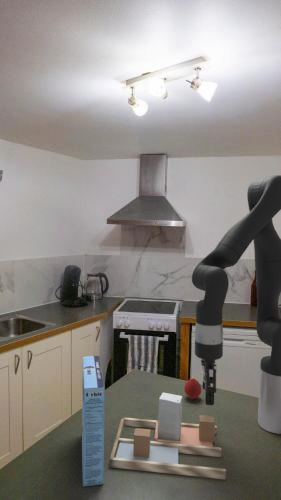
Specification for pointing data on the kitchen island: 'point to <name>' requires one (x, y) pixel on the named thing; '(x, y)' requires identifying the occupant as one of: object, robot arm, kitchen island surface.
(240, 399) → the kitchen island surface
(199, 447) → the lane rails
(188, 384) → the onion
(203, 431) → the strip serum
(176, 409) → the skincare box
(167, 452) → the strip empty
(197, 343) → the robot arm
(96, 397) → the light blue flat box
